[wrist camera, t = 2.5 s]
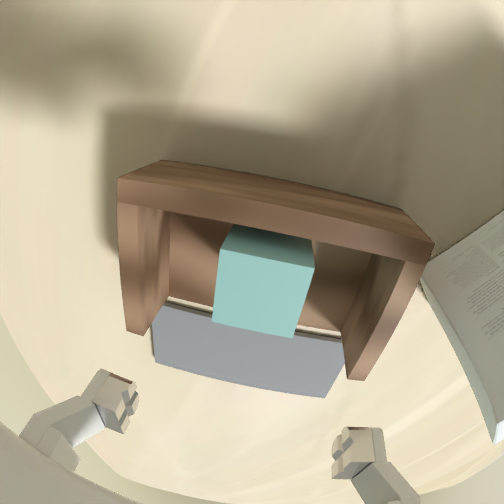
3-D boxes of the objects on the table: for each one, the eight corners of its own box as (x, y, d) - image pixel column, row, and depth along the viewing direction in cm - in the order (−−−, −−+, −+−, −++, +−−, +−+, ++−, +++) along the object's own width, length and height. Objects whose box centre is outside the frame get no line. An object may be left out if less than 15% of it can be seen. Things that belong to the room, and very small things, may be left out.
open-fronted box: (161, 160, 21) (117, 178, 16) (401, 209, 21) (434, 243, 15) (157, 287, 27) (126, 330, 21) (354, 328, 26) (364, 380, 20)
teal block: (242, 208, 22) (220, 248, 15) (309, 221, 21) (314, 268, 15) (233, 266, 24) (211, 321, 18) (294, 279, 24) (292, 338, 17)
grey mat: (153, 298, 28) (150, 302, 27) (353, 340, 27) (354, 344, 26) (156, 358, 32) (155, 362, 31) (324, 394, 31) (324, 398, 30)
